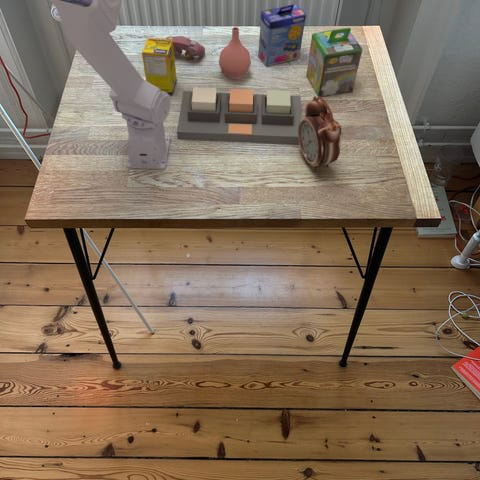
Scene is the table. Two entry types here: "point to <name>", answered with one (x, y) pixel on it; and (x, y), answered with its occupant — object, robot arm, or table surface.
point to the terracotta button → (241, 100)
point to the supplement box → (160, 64)
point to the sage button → (278, 102)
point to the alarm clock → (319, 134)
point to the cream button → (204, 99)
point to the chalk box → (333, 61)
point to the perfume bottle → (234, 57)
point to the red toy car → (186, 47)
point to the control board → (239, 122)
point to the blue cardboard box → (281, 34)
